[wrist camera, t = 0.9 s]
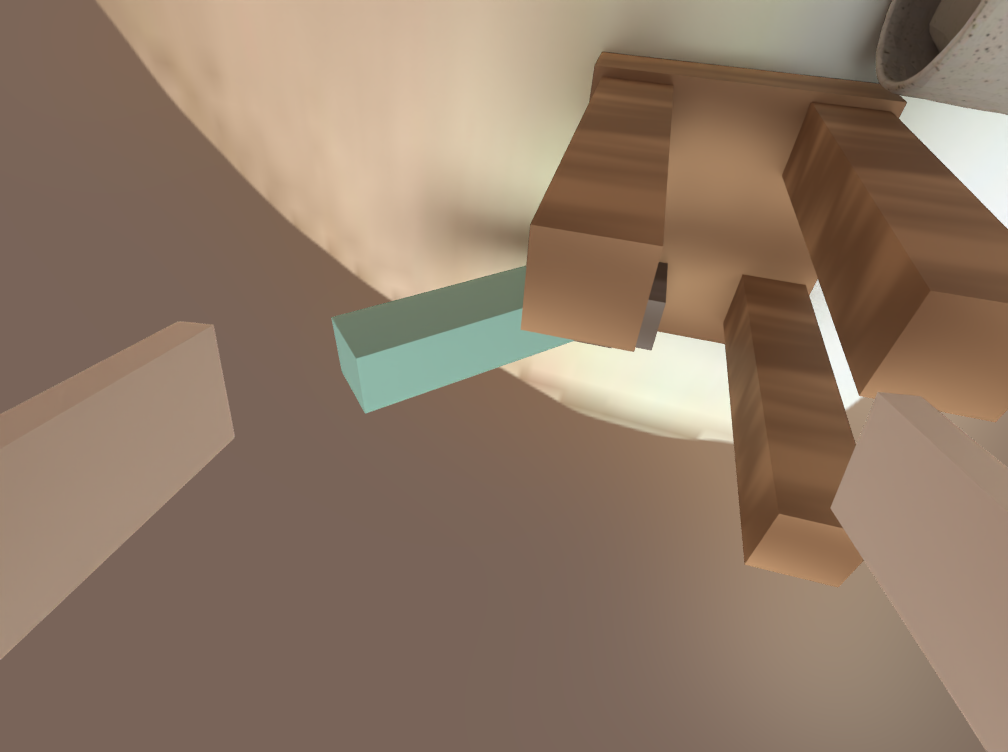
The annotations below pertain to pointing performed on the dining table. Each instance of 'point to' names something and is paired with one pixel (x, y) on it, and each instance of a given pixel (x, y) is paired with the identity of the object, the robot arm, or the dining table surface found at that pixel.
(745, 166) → the upturned wooden stool
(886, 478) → the robot arm
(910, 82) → the ceramic mug
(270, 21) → the dining table surface
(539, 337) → the hinged leg
